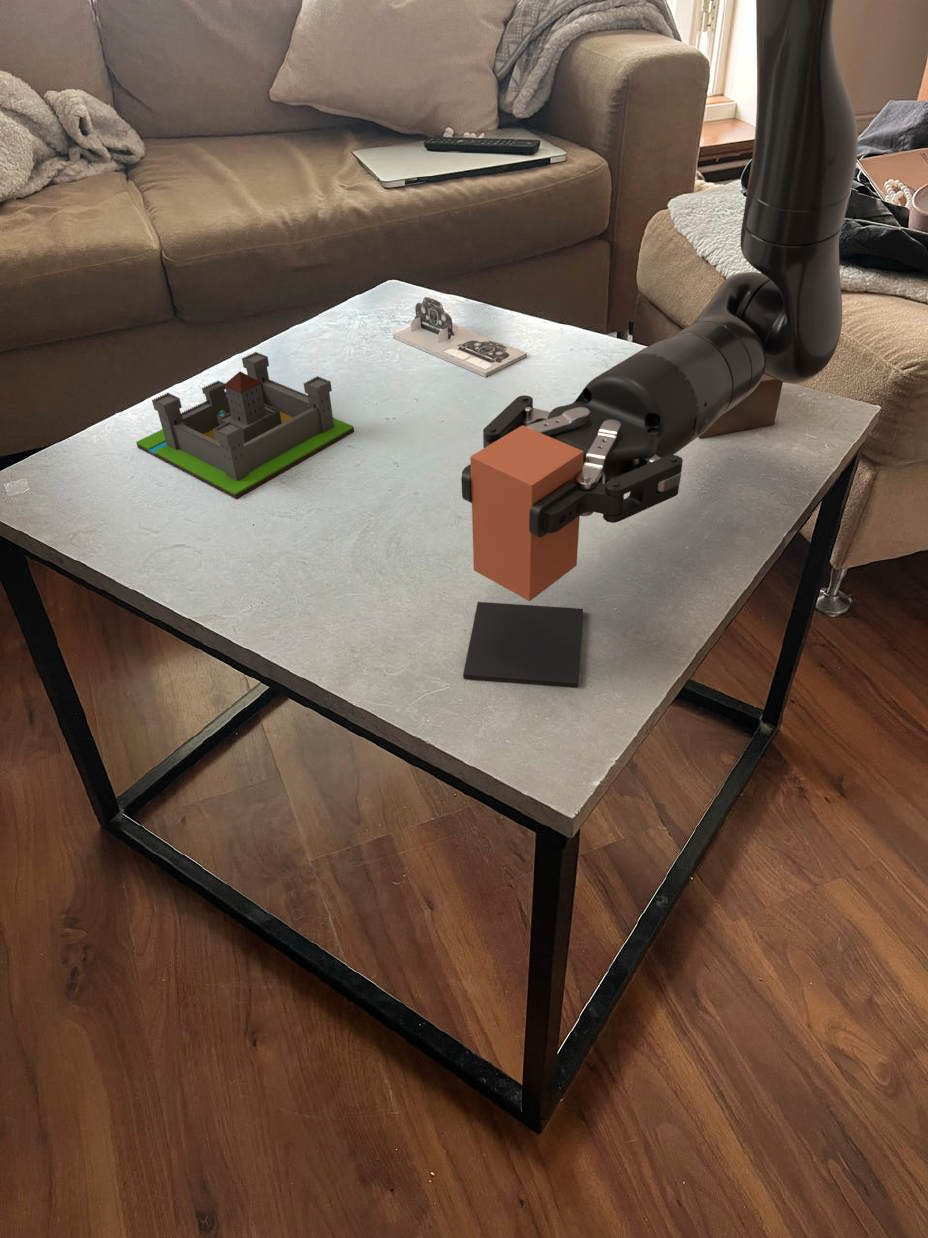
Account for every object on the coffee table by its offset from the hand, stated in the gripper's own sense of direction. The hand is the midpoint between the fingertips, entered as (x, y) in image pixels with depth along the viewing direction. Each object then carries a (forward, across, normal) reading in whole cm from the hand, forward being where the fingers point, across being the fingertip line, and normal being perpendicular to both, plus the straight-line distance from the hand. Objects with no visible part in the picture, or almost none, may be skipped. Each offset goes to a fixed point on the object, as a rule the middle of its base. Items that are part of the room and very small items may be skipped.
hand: (500, 505), depth 57 cm
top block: (-3, 0, +6) cm, 7 cm away
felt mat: (-3, 0, +13) cm, 14 cm away
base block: (-41, -7, +14) cm, 44 cm away
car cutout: (-36, -38, +14) cm, 54 cm away
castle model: (-7, -40, +14) cm, 43 cm away
